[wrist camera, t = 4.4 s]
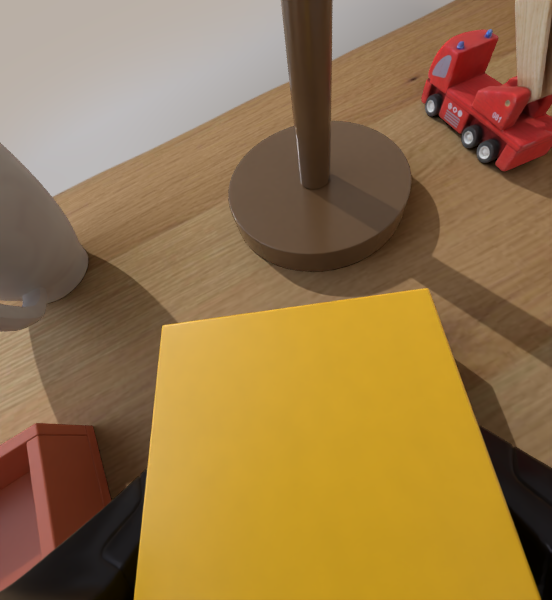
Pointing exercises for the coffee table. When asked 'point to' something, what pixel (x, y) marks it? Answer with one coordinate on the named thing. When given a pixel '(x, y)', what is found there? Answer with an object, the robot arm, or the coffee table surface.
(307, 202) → the tall lamp
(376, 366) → the yellow box
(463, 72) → the toy fire truck
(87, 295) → the coffee table surface
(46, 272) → the mug
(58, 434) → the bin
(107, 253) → the coffee table surface
